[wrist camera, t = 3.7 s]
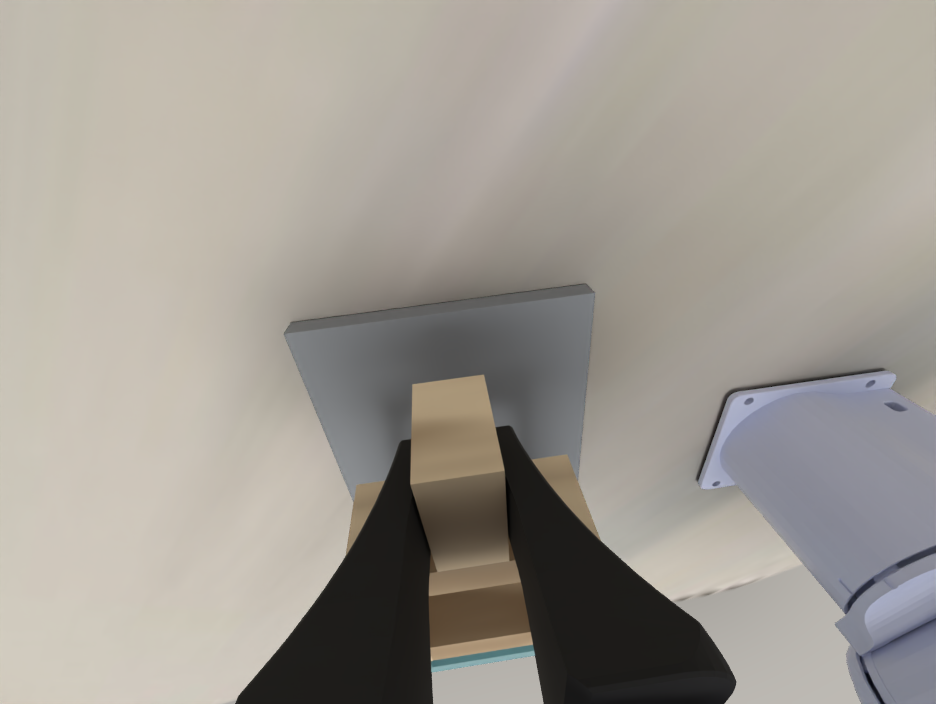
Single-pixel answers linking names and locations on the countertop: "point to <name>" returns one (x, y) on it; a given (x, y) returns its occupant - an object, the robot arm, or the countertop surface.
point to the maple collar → (467, 518)
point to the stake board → (449, 371)
